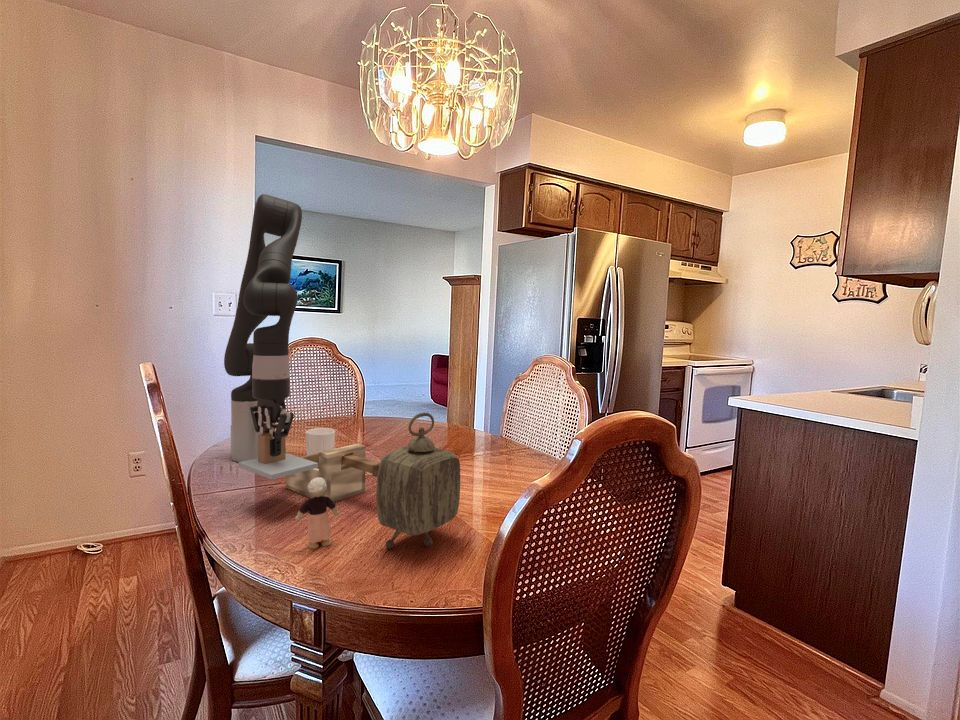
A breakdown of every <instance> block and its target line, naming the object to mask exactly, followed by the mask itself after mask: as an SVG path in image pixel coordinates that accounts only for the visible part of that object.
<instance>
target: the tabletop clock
mask: <svg viewBox="0 0 960 720" xmlns="http://www.w3.org/2000/svg"><path fill="white" fill-rule="evenodd" d="M423 417H428V418H429V419H430V420H431V425H430V426H429V427H428V428H427V429H425V428H424V427H419V428H418V432H414V431H413V430H412V426H413V423H414V422H415V421H416V420H417V419H419V418H423ZM434 426H435V419H434V416H433V415H432V414H431V413H428V412H421V413H418V414H416V415H414V416H413V417H412V418H411V419H410V421H409V423H408V432H409V433H410V435H412V436H414V437H413V438H411V440H410V441H409V442H408V443H407V446H403V447H400V448H398V449H395V450H393V451H389V452H388V453H387V454H385V455H384V456H383V457H382V458H381V459H380V462H379V463H380V465H379V470H378V476H377V477H376V478H377V480H376V492H375V495H376V497H375V498H376V513H377V514H376V515H377V518H378V522H379V525H381V526H384V527H387V528H389V529H393V530H394V531H395V532H394V533H393V536H392V537H391V539H387V540H386V541H385V542H384V543H385V547H386V549H389V550H390V549H393V547H394V546H395V540H396V539H397V537H398V536H399V535H400V534H401V533H403V534H406V535H409V536H419V535H422V534H424V535H425V538H424V540H423V543H424V546H426V547H431V546H432V545H433V542H434V541H433V539H432V537H430V534H429V532H430V531H433V530H435V529H438V528H440V527H442V526H443V525H445V524H447V523H449V522H450V521H451V520H453V519H454V518H455V517H456V516H457V515H458V511H459V508H460V507H459V506H460V496H461V495H460V494H461V464H460V459H459V458H458V456H457V455H456V454H455V453H454V452H453V451H450V450H445V449H441V448H436V446H435V444H434V441H432V440H431V439H430V437H427V436H425V435H427V434H428V433H430V432H431V431H432V430H433V428H434Z"/></svg>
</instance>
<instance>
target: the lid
mask: <svg viewBox="0 0 960 720" xmlns="http://www.w3.org/2000/svg"><path fill="white" fill-rule="evenodd" d="M286 437H287V436H285V437H283V438H281V454H280V455H278V456H271V455H270V433H265V434H259V435H258V458H257V459H252V460H247V461H243V462H238V466H237V467H238V468H240V469H242V470H245V471H248V472H250V473H254V474H255V475H259V476H261V477H264V478H266V479H268V480H276V479H279V478H283V477H284V478H285V477H286V476H288V475H292V474H296V473H299V472H303V471H307V470H311V469H315V468H318V463H316V462H313V461H310V460H306V459H303V458H300V457H301V456H296V455H293V454H290V453H287V452H286V450H287V449H286V442H287V441H286Z"/></svg>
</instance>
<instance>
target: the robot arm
mask: <svg viewBox="0 0 960 720" xmlns="http://www.w3.org/2000/svg"><path fill="white" fill-rule="evenodd" d="M252 216H253V217H252V223H251V231H250V239H249V240H250V241H249V245H248V247H249V248H248V252H247V258H246V263H245V266H244V270H243V274H242V279H241V283H240V287H239V294H238V299H237V306H236V312H235V317H234V319H233V320H234V321H233V325H232V328H231V331H230V335H229V338H228V341H227V345H226V348H225V352H224V359H223V365H224V366H223V367H224V370H225V373H226V374H227V375H228V376H231V377H249V379H248V380H247V381H246V382H245V383H243V384H241V385H239V386H237V387H235V388H233V389H232V390H231V392H230V404H231V405H230V410H231V411H230V412H231V414H230V417H231V420H230V421H231V423H230V458H231V460H232V461H233V462H243V461H247V460H252V459H257V458H258V435H259V434H265V433H270V455H271V456H278V455H280V454H281V438H283V437H285V436H286V437H288V435H289V433H290V431H291V428H292V427H291V426H292V424H293V421H294V417H295V414H294V413H293V412H289V411H287V405H286V401H285V400H286V399H288V398H289V396H290V394H291V391H290V390H291V387H290V386H291V383H290V382H291V380H290V379H291V375H290V374H291V373H290V372H291V371H290V369H291V367H290V364H291V363H290V358H289V354H290V352H289V342H290V341H289V339H290V338H289V337H290V330H291V329H290V328H291V324H292V320H293V317H294V315H295V311H296V308H297V305H298V299H299V297H298V292H297V291H296V289H295V287H294V286H293V285H292V284H290V281H291V275H292V261H293V257H294V253H295V249H296V248H297V243H298V239H299V236H300V235H299V234H300V232H301V231H300V230H301V226H302V220H303V210H302V208H301V206H300V205H299V204H298V203H295V202H294V201H289V200H286V199H284V198H280V197H277V196H273V195H269V194H265V193H262V194H260V195H259V196H258V197H257V200H256V202H255V206H254V210H253V215H252ZM265 234H269V235H273V236H276V237H278V238H277V239H275V240H274V241H272V242H270V243H269V244H267V245H266V243H265V242H266V241H265ZM271 316H272V317H278V318H279V319H278V321H277V322H276V323H275V324H273V325H267V326H261V327H259V326H260V325H261V323H262V322H264V321H265V320H266V318H268V317H271ZM252 334H253V339H252V341H253V343H251V342H249V339H250V338H251V335H252ZM248 342H249V343H248Z"/></svg>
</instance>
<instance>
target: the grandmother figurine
mask: <svg viewBox="0 0 960 720" xmlns="http://www.w3.org/2000/svg"><path fill="white" fill-rule="evenodd" d="M326 487H327V485H326V481H325V480H324V479H323V478H320V477H319V478H318V477H317V478H314V479H313V480H311V482H310V483H309V485H308V491H309V492H310V493H311V495H312V496H314V498H309V499H306V500H305V501H303V502H302V504H301V505H300V506H299V508H298V512H297V514H296V516H295V517H294V519H295V521H298V522H299V521H301V520H302V517H303V515H305V514H306V513H308V516H307V538H308V541H307V543H306V546H307V547H308V548H309V549H317V548H319V546H320V545H321V546H322V547H326V546H330V545H331V543H332V538H331V536H330V532H331V531H330V522H329V521H330V519H329V514H328V509H327V508H329V509H330V510H331V512H332V514H333V516H335V517H338V516H339V514H340V511H339V510H338V507H337V505H336V502H333V501H332V500H331V499H330V498H329V497H326V496H322V495H323V494H324V492H325V490H326ZM319 542H320V545H319Z"/></svg>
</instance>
